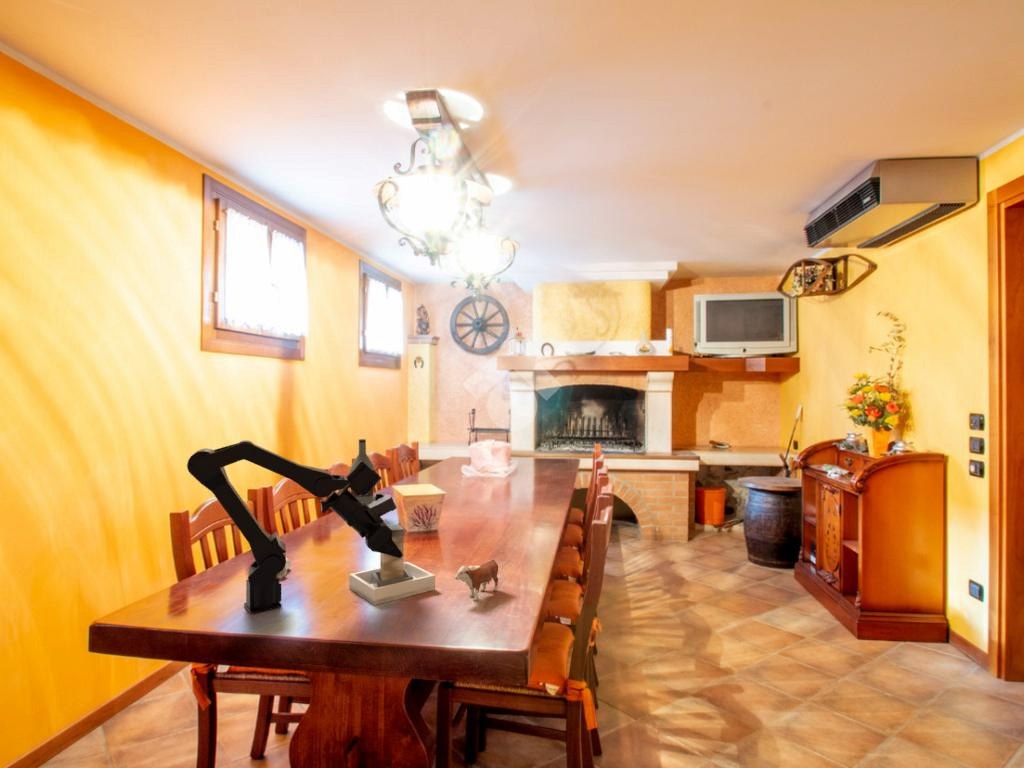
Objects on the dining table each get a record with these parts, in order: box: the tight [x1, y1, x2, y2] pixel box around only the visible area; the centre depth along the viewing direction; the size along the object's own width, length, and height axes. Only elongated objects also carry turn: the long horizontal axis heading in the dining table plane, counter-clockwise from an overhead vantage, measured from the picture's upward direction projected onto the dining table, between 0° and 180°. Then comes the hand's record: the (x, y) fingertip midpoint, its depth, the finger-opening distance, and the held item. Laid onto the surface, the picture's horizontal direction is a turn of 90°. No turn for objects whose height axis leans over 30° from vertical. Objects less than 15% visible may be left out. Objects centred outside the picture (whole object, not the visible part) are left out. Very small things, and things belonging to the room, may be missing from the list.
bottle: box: [349, 438, 375, 505], centre depth 216 cm, size 9×9×30 cm
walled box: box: [348, 561, 436, 606], centre depth 140 cm, size 16×14×4 cm
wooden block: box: [379, 524, 405, 581], centre depth 140 cm, size 5×5×14 cm
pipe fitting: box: [277, 557, 292, 579], centre depth 152 cm, size 8×4×7 cm
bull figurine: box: [454, 559, 499, 602], centre depth 135 cm, size 4×13×8 cm, turn 140°
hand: (397, 551), depth 140 cm, fingers open, 9 cm apart
